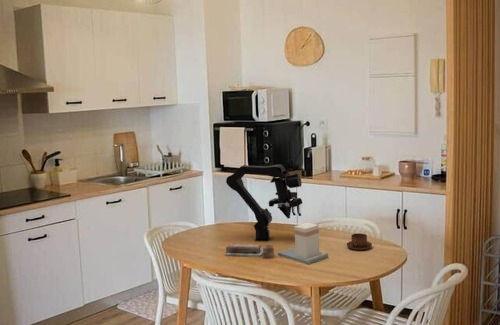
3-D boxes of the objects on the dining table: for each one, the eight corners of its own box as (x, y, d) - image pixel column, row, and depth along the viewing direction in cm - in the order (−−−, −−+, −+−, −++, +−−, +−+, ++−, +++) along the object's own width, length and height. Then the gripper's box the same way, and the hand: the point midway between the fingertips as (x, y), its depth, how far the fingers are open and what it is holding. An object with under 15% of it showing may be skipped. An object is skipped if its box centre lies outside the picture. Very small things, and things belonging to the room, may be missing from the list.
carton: (295, 255, 265) (294, 226, 263) (308, 251, 270) (307, 222, 268) (306, 258, 260) (305, 229, 257) (319, 254, 265) (318, 225, 263)
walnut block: (263, 258, 267) (262, 248, 266) (263, 255, 272) (262, 245, 271) (274, 258, 267) (273, 247, 266) (273, 254, 272) (273, 244, 271)
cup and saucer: (372, 251, 269) (372, 239, 268) (346, 251, 271) (346, 239, 271) (371, 244, 281) (371, 232, 280) (347, 244, 283) (346, 232, 282)
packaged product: (223, 247, 273) (229, 241, 283) (224, 257, 274) (230, 250, 283) (260, 248, 268) (265, 242, 278) (260, 258, 269) (265, 251, 279)
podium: (278, 255, 271) (277, 250, 271) (297, 248, 279) (297, 244, 279) (308, 264, 256) (308, 259, 255) (328, 257, 264) (328, 252, 264)
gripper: (305, 184, 289) (312, 213, 292) (278, 184, 302) (285, 212, 305) (291, 191, 281) (298, 221, 284) (264, 191, 295) (271, 219, 297)
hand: (288, 218), depth 293 cm, fingers closed
